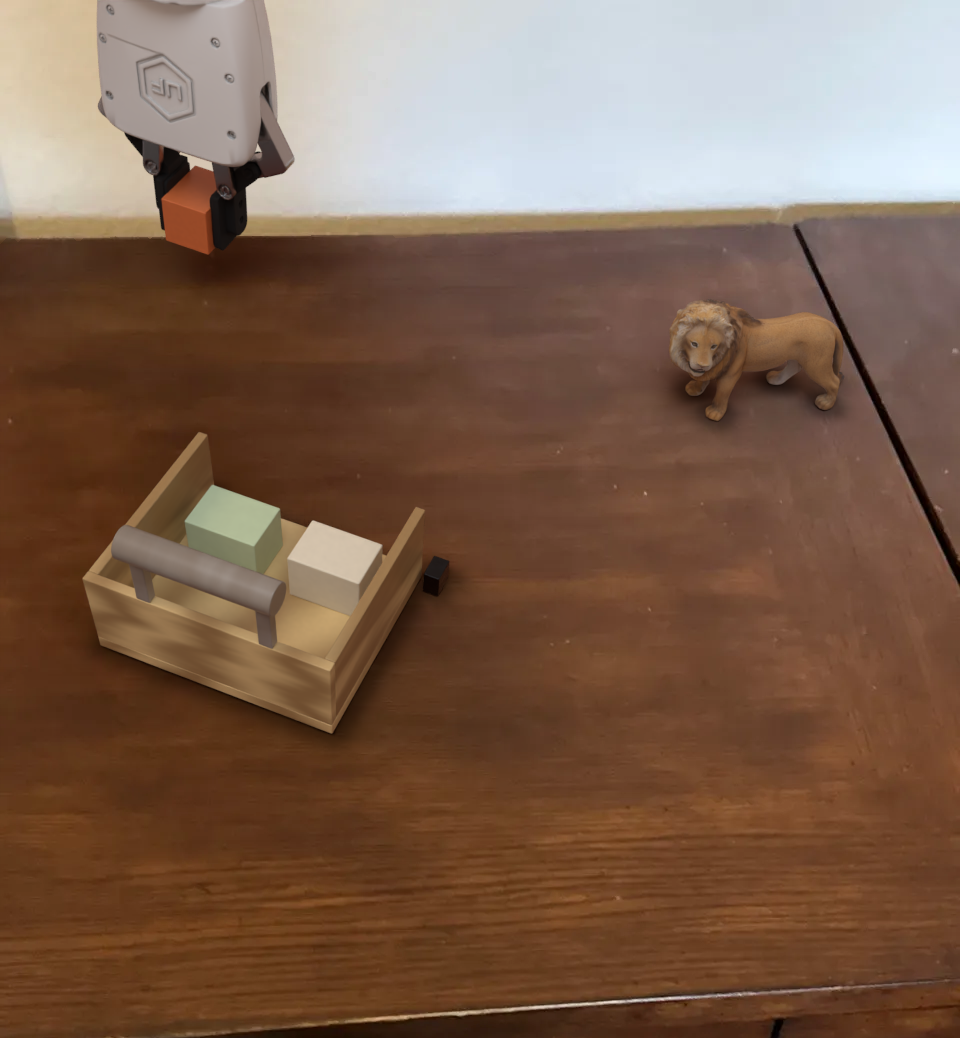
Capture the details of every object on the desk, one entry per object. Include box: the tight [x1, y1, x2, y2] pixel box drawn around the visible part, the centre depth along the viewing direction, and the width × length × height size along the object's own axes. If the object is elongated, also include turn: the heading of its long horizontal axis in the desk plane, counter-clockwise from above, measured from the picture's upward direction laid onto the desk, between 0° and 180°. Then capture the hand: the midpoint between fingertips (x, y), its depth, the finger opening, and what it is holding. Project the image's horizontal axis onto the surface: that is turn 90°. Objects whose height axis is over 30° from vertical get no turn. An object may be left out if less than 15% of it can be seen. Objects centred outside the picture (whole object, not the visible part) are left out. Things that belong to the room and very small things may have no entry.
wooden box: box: [82, 431, 426, 734], centre depth 68 cm, size 14×13×11 cm
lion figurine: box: [668, 298, 845, 422], centre depth 83 cm, size 15×5×9 cm, turn 110°
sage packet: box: [185, 484, 283, 574], centre depth 72 cm, size 4×3×3 cm
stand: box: [422, 555, 450, 597], centre depth 75 cm, size 17×2×2 cm, turn 68°
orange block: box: [161, 165, 217, 256], centre depth 83 cm, size 4×3×3 cm
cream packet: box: [287, 520, 383, 616], centre depth 71 cm, size 4×3×3 cm
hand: (203, 227), depth 84 cm, fingers closed on orange block, 3 cm apart
